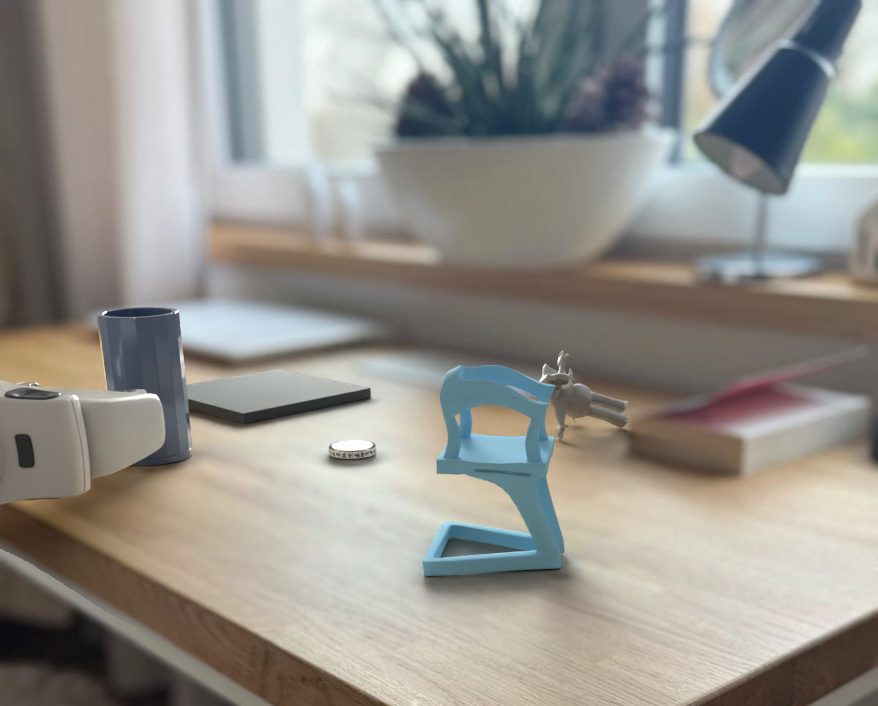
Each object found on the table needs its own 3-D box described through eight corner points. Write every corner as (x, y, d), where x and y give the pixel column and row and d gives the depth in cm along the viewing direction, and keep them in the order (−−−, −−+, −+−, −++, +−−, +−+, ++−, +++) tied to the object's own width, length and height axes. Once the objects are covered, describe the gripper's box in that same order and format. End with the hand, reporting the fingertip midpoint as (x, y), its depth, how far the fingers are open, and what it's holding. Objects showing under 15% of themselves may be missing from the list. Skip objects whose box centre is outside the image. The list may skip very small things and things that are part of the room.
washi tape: (375, 445, 94) (375, 438, 94) (376, 457, 90) (376, 450, 90) (329, 447, 94) (329, 440, 93) (328, 459, 90) (328, 451, 90)
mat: (155, 399, 113) (154, 390, 113) (279, 377, 124) (278, 368, 123) (244, 423, 103) (243, 413, 102) (371, 397, 113) (370, 387, 112)
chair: (559, 583, 64) (565, 381, 59) (421, 576, 65) (417, 378, 61) (567, 540, 71) (573, 356, 66) (442, 534, 72) (440, 354, 68)
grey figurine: (643, 442, 95) (551, 412, 92) (607, 477, 100) (520, 449, 97) (640, 355, 100) (553, 324, 97) (606, 392, 104) (523, 363, 102)
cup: (101, 456, 92) (82, 312, 88) (167, 442, 96) (152, 304, 92) (140, 470, 88) (122, 320, 83) (207, 455, 92) (193, 311, 88)
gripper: (-157, 475, 74) (-21, 428, 87) (100, 499, 69) (207, 445, 81) (-177, 383, 72) (-35, 348, 84) (86, 401, 66) (199, 360, 78)
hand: (85, 396), depth 82 cm, fingers open, 8 cm apart
